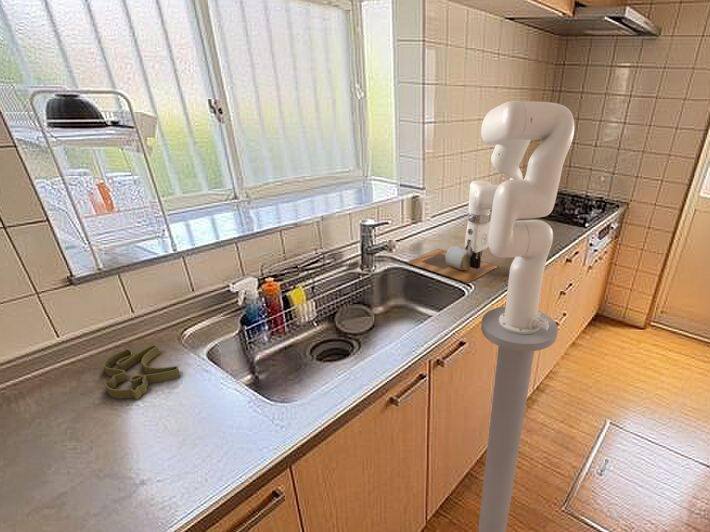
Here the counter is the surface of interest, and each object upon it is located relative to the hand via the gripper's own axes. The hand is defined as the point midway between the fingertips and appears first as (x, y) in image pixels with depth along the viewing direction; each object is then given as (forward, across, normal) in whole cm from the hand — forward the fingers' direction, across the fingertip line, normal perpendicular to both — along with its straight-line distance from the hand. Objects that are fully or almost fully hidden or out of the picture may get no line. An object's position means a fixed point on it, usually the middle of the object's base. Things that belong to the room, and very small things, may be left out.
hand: (475, 267), depth 152 cm
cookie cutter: (+2, -98, +24) cm, 101 cm away
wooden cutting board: (+2, 0, +10) cm, 10 cm away
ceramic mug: (+2, 0, +6) cm, 6 cm away
